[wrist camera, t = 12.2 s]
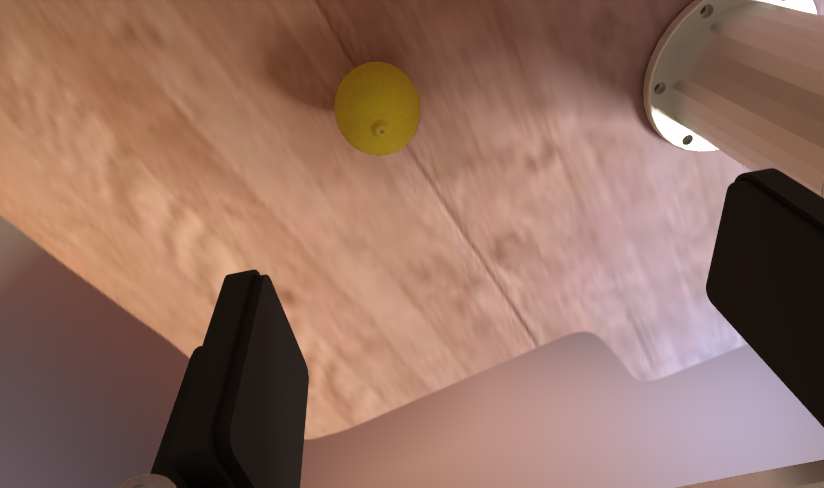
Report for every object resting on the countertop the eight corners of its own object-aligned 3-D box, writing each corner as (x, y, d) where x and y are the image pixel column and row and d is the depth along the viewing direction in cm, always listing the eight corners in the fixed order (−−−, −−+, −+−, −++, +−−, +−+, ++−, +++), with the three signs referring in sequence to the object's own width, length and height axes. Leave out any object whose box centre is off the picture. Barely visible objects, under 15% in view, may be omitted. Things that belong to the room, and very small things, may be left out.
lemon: (345, 133, 37) (346, 182, 31) (326, 57, 34) (322, 94, 28) (418, 118, 37) (435, 164, 31) (405, 41, 34) (421, 74, 28)
